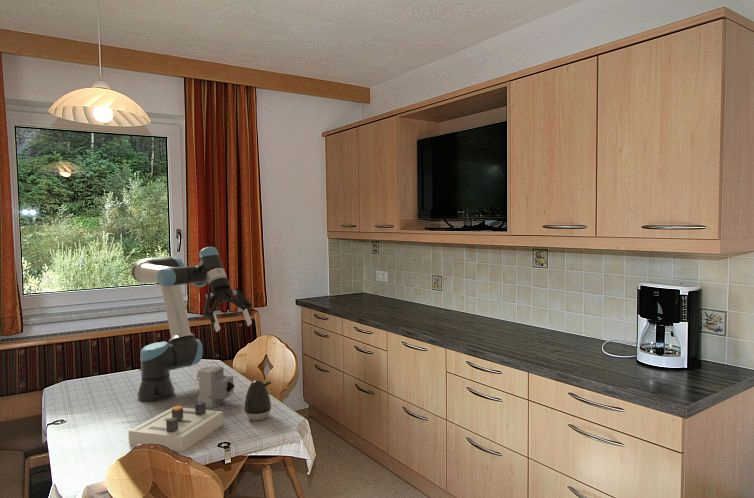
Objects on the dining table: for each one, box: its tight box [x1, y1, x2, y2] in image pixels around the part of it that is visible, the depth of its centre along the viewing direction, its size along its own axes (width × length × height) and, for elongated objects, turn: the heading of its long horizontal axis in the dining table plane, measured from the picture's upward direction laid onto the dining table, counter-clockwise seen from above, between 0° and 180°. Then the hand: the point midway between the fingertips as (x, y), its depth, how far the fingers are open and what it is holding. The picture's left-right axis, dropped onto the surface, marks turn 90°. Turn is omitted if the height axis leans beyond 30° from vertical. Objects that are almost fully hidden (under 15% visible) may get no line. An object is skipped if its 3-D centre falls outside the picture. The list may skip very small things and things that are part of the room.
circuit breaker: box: [196, 365, 235, 408], centre depth 217 cm, size 8×14×15 cm, turn 78°
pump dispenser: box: [244, 379, 272, 422], centre depth 200 cm, size 10×10×15 cm
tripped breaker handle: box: [171, 405, 184, 421], centre depth 186 cm, size 2×3×5 cm
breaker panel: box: [128, 402, 224, 453], centre depth 186 cm, size 22×24×9 cm
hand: (234, 327), depth 202 cm, fingers open, 13 cm apart
